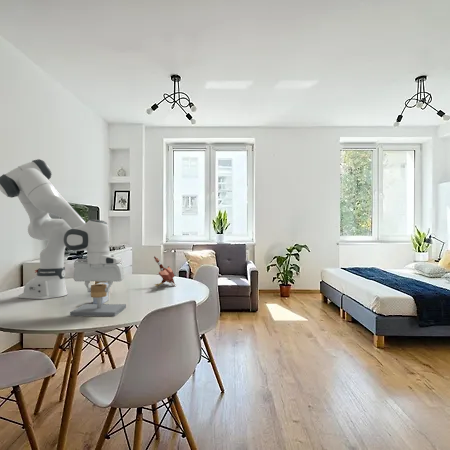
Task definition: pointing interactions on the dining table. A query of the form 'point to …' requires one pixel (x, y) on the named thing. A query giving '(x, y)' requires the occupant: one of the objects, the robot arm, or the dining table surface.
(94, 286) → the bead
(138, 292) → the dining table surface
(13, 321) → the dining table surface
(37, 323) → the dining table surface
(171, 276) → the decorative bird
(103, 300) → the medicine box
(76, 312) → the stand
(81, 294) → the dining table surface
